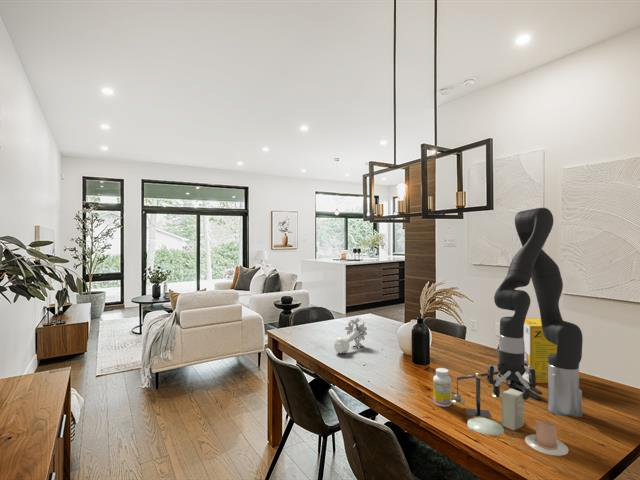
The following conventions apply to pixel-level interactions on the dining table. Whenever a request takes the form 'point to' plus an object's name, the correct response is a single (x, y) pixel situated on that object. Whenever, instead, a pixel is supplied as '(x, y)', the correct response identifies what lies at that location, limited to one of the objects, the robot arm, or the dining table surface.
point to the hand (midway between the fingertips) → (510, 397)
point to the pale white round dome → (485, 426)
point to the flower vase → (350, 337)
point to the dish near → (559, 451)
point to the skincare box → (512, 409)
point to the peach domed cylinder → (546, 435)
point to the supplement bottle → (442, 388)
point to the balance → (476, 411)
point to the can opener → (519, 385)
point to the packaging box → (536, 350)
